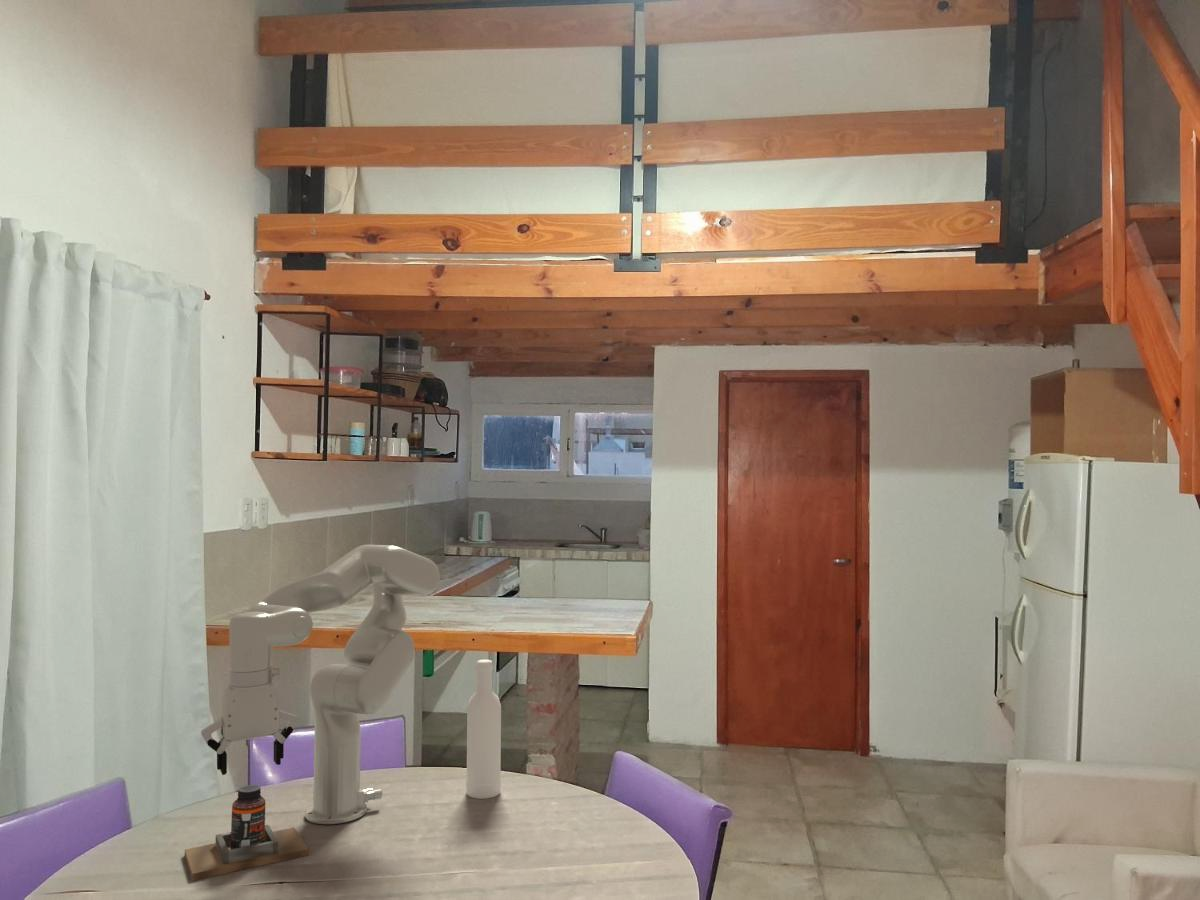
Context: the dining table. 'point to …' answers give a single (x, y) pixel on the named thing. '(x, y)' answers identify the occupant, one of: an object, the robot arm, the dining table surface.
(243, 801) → the supplement bottle
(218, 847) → the cap board
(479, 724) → the bottle
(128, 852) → the dining table surface
